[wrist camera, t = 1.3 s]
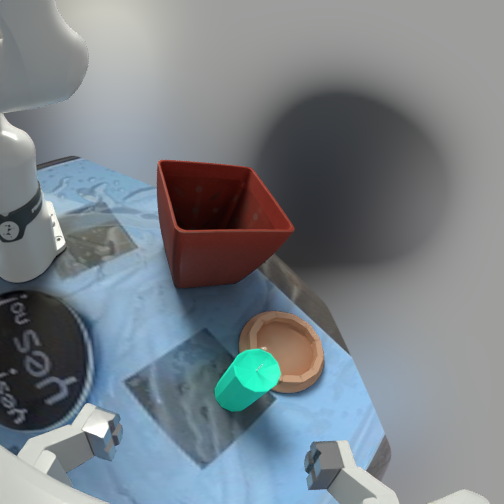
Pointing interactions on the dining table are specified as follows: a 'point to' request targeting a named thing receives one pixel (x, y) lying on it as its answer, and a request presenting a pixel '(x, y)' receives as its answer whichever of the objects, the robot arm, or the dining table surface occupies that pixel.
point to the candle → (247, 379)
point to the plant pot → (216, 222)
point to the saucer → (286, 348)
